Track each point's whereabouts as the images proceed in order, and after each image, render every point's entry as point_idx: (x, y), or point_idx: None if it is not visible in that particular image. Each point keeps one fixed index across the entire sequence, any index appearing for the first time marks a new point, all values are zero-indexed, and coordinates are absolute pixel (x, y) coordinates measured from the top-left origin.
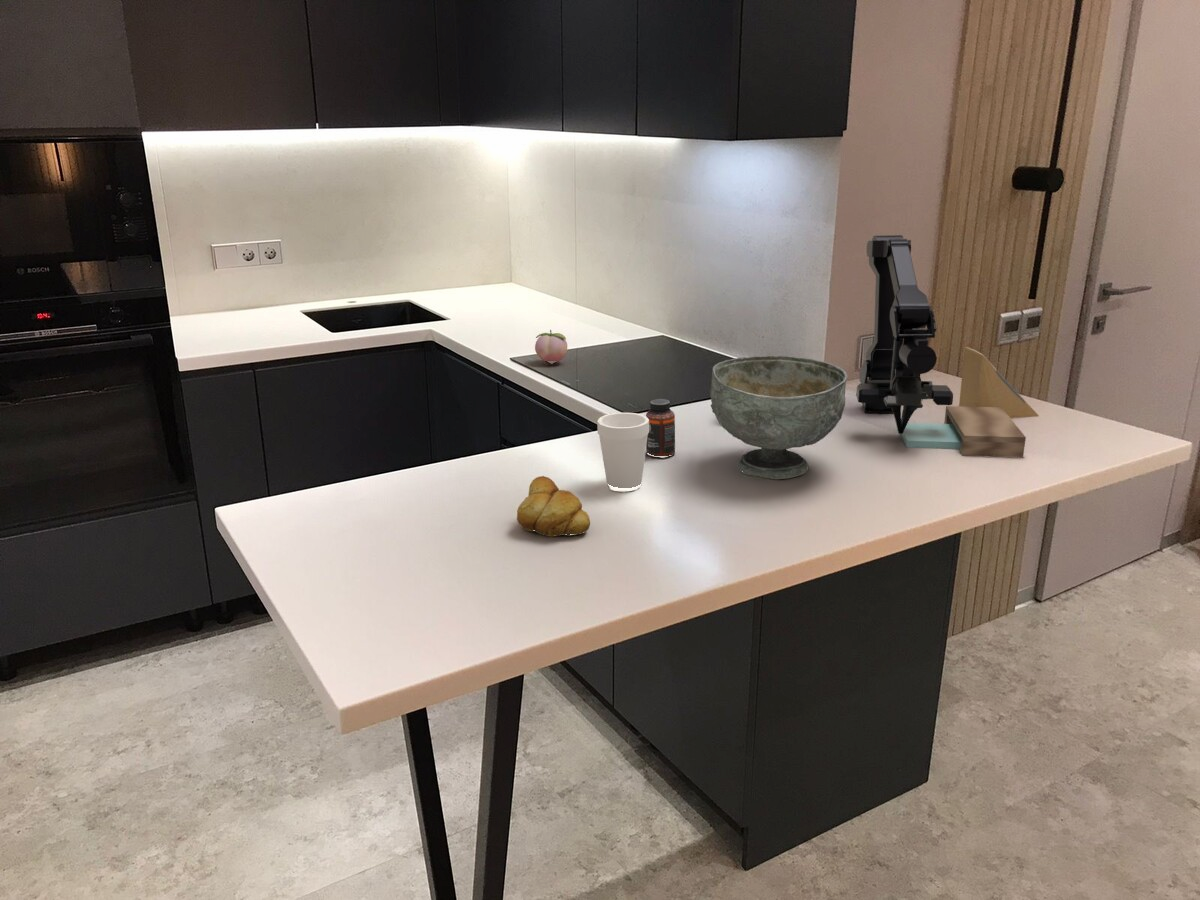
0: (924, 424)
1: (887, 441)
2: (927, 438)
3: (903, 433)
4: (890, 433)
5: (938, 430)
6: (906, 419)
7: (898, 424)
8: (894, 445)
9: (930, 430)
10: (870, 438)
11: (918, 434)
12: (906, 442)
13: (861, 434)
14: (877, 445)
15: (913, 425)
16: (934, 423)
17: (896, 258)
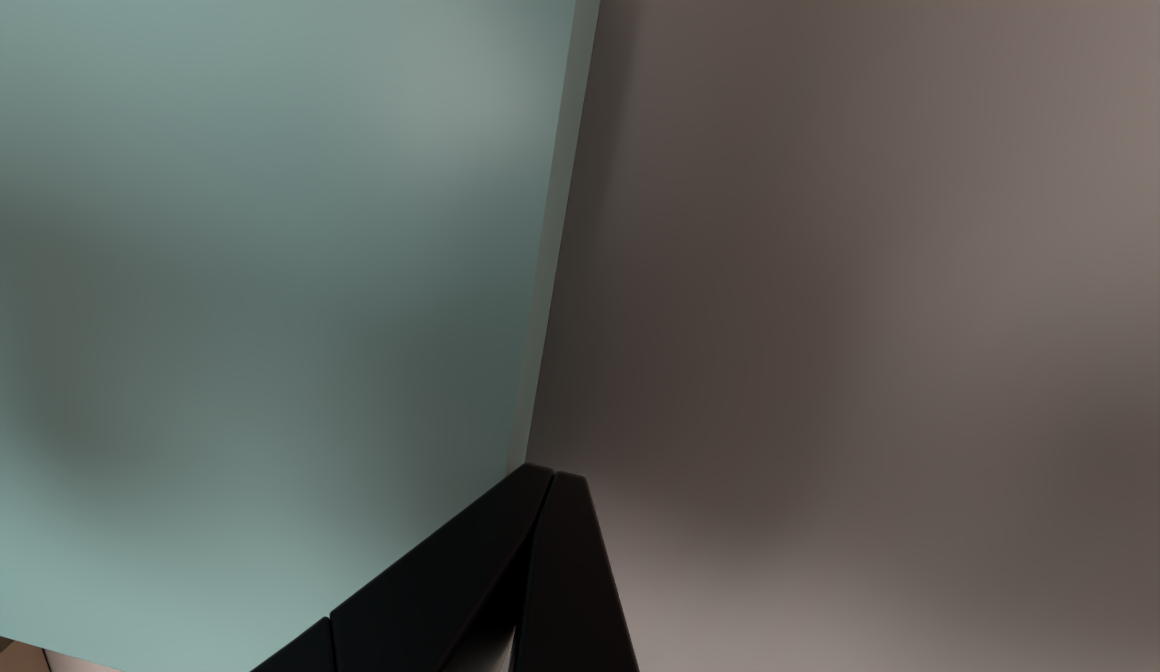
0: (181, 656)
1: (818, 336)
2: (142, 87)
3: (512, 455)
4: (633, 602)
5: (6, 445)
6: (376, 643)
7: (583, 590)
8: (790, 118)
9: (107, 463)
10: (1025, 498)
11: (286, 329)
12: (581, 37)
13: (1056, 651)
14: (1137, 151)
15: None
16: (74, 656)
17: None
